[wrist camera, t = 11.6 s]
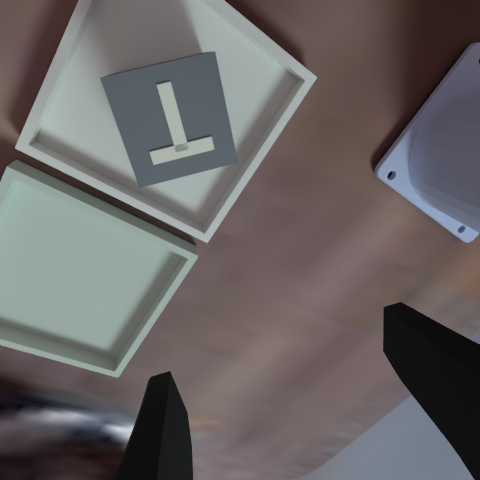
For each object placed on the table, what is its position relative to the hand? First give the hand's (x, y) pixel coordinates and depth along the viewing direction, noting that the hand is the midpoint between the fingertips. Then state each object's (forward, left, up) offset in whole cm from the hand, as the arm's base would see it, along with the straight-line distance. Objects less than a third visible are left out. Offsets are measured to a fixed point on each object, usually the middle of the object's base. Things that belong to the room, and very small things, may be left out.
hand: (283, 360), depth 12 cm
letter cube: (+6, -4, -10) cm, 12 cm away
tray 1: (+6, -4, -10) cm, 12 cm away
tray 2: (+6, +6, -10) cm, 13 cm away
